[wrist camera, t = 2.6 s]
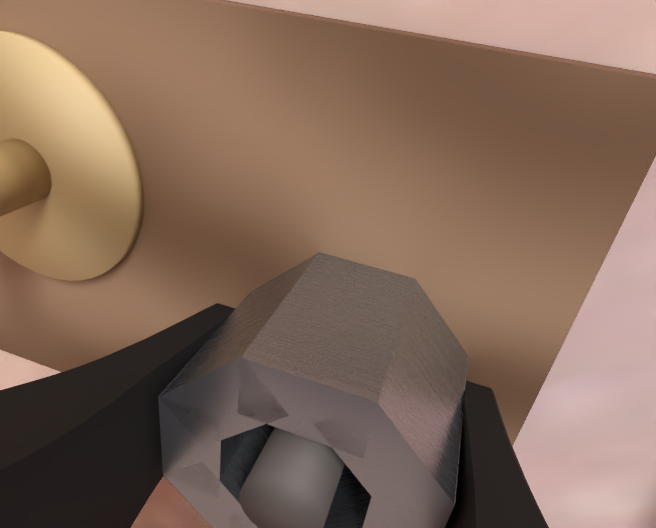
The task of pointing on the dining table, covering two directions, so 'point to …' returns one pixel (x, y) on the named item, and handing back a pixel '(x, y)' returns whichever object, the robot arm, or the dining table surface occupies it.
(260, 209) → the board
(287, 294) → the collar
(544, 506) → the dining table surface
